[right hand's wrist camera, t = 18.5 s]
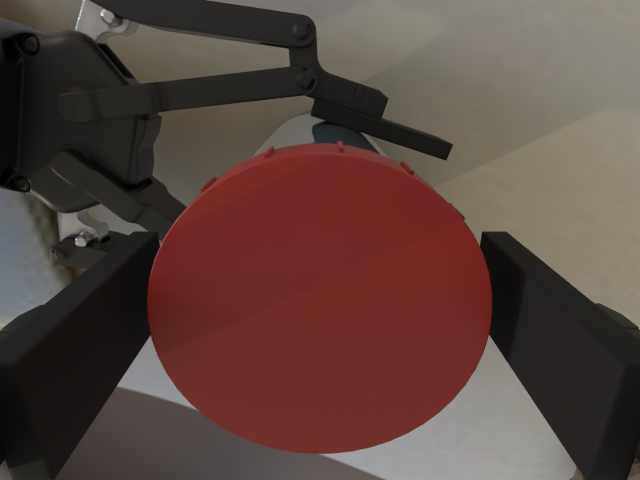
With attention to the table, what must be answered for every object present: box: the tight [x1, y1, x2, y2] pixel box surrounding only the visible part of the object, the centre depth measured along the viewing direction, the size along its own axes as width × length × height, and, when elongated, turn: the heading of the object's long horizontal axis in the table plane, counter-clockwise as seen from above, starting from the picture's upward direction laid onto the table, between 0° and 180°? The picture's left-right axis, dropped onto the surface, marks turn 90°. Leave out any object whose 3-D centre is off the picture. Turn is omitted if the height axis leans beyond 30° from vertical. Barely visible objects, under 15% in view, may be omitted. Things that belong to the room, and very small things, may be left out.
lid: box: [147, 141, 492, 454], centre depth 11 cm, size 9×9×2 cm
